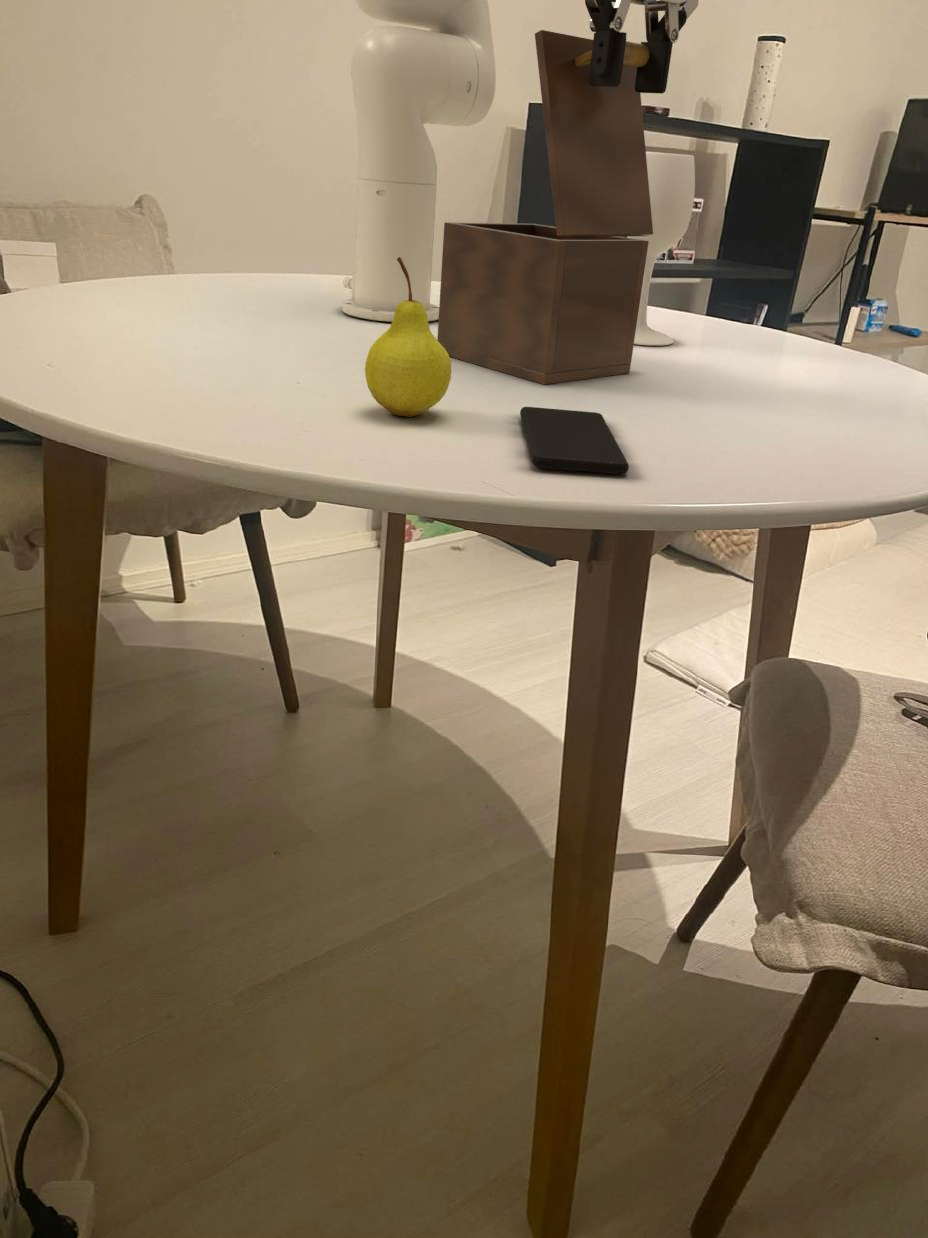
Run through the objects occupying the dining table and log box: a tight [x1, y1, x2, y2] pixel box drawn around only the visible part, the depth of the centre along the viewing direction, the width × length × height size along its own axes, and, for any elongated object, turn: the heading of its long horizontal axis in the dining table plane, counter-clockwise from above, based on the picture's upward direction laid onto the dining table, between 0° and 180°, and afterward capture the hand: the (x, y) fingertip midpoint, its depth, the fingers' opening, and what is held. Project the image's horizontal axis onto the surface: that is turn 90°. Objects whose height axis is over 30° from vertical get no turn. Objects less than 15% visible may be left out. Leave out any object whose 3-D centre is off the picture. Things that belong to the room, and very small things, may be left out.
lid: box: [534, 29, 653, 237], centre depth 89 cm, size 17×13×5 cm
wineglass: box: [626, 151, 696, 347], centre depth 117 cm, size 9×9×21 cm
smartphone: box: [519, 406, 630, 475], centre depth 75 cm, size 7×1×15 cm
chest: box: [436, 221, 649, 385], centre depth 101 cm, size 16×13×13 cm
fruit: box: [364, 257, 452, 418], centre depth 78 cm, size 7×7×12 cm
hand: (627, 86), depth 87 cm, fingers closed on lid, 5 cm apart
